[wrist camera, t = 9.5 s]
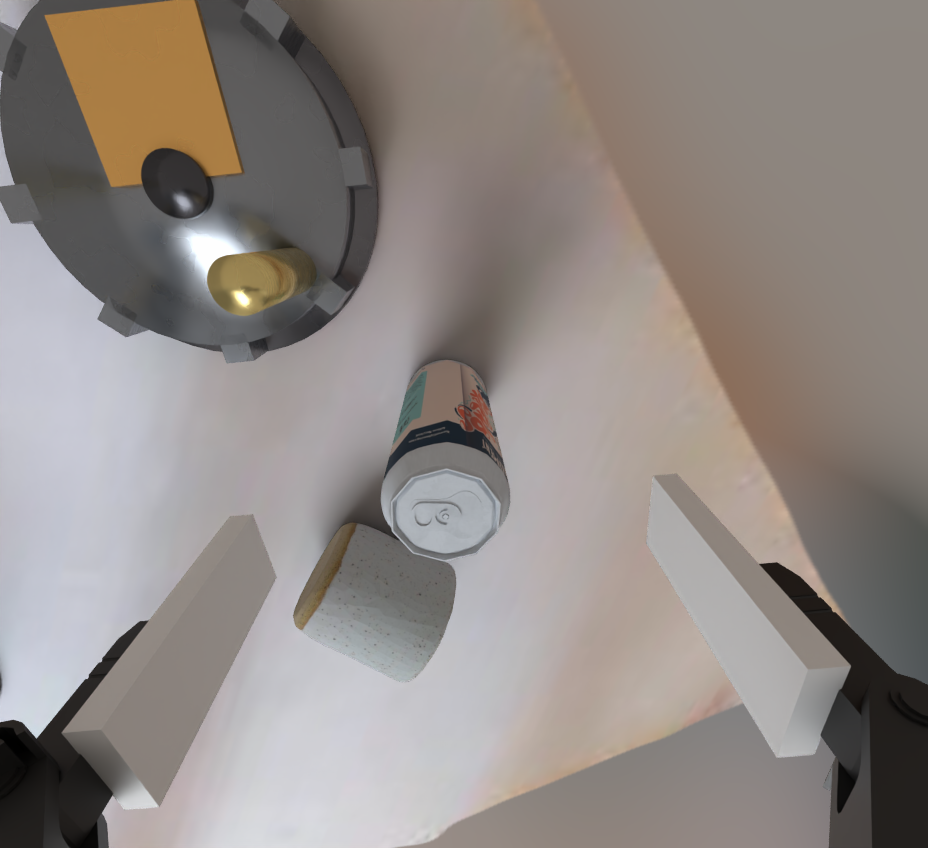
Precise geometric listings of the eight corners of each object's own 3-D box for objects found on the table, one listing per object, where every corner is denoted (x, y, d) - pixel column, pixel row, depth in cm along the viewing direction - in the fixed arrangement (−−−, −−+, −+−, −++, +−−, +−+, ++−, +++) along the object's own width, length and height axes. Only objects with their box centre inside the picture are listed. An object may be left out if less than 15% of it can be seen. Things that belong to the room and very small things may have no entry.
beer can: (483, 432, 27) (508, 570, 16) (407, 430, 27) (379, 570, 16) (488, 358, 25) (519, 458, 14) (406, 355, 25) (373, 455, 14)
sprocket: (273, 406, 25) (200, 479, 18) (-26, 215, 20) (-289, 207, 13) (439, 163, 20) (435, 126, 13) (98, -157, 16) (-206, -494, 8)
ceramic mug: (354, 493, 28) (322, 581, 21) (458, 542, 30) (460, 637, 24) (292, 593, 32) (248, 696, 25) (389, 631, 34) (373, 736, 27)
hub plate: (89, 341, 24) (82, 343, 23) (-27, -53, 17) (-40, -60, 17) (379, 359, 25) (378, 361, 24) (376, -7, 18) (374, -13, 18)
